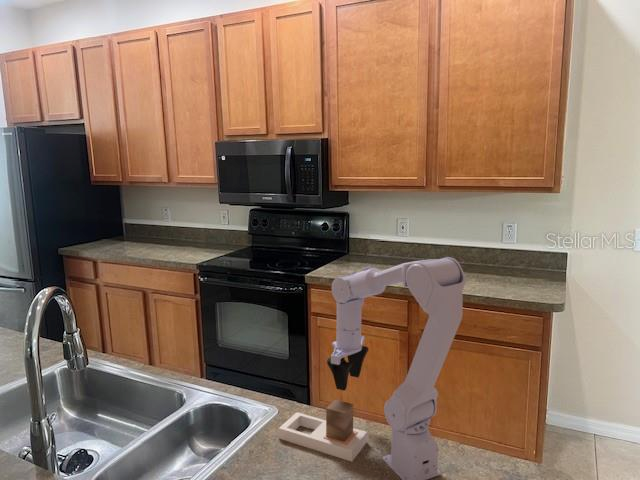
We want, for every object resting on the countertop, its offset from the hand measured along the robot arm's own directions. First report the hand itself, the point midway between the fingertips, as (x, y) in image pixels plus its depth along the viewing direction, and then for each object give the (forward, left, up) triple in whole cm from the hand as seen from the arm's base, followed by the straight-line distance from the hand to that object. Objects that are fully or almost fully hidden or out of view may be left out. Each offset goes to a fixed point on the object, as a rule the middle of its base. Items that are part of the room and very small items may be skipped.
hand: (348, 382), depth 111 cm
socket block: (-4, +8, -10) cm, 14 cm away
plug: (-7, +6, -8) cm, 12 cm away
